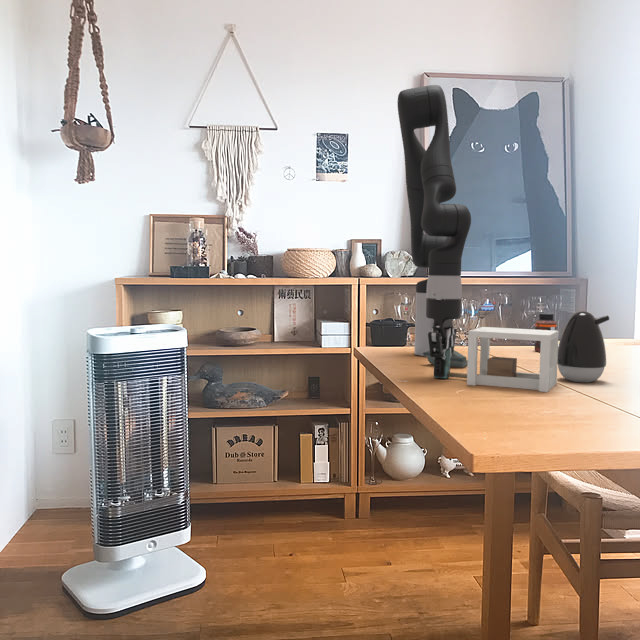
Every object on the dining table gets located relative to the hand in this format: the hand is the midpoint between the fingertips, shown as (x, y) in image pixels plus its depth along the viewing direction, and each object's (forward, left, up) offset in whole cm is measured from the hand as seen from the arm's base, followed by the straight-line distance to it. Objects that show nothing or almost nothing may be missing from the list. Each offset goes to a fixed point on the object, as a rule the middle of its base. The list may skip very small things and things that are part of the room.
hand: (441, 375), depth 153 cm
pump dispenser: (-13, +27, -1) cm, 30 cm away
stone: (-21, -4, -1) cm, 21 cm away
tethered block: (0, +7, 0) cm, 7 cm away
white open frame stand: (0, +15, -1) cm, 15 cm away
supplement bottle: (-65, +11, -1) cm, 66 cm away
